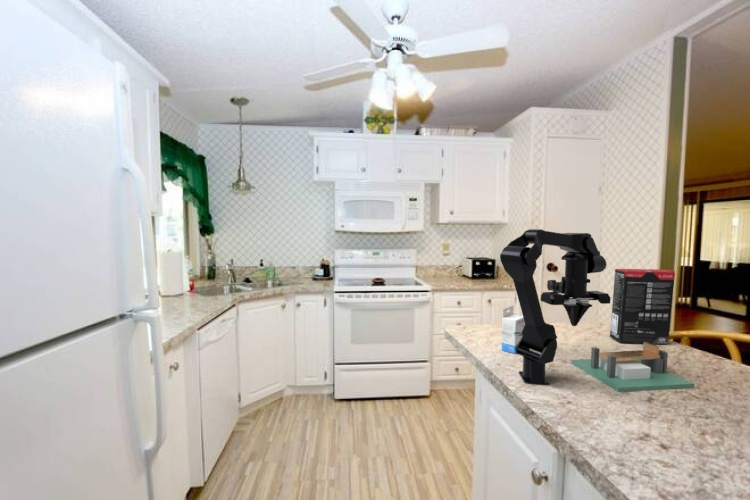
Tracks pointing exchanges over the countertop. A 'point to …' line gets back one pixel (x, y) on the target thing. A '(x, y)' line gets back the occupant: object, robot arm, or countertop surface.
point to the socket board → (635, 383)
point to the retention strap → (635, 353)
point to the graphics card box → (642, 305)
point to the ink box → (511, 329)
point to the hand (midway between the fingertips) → (573, 325)
